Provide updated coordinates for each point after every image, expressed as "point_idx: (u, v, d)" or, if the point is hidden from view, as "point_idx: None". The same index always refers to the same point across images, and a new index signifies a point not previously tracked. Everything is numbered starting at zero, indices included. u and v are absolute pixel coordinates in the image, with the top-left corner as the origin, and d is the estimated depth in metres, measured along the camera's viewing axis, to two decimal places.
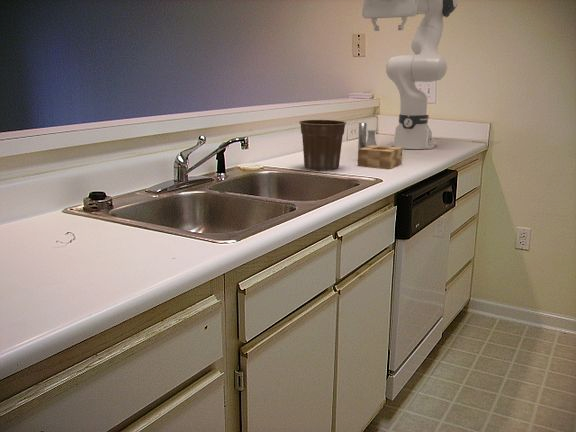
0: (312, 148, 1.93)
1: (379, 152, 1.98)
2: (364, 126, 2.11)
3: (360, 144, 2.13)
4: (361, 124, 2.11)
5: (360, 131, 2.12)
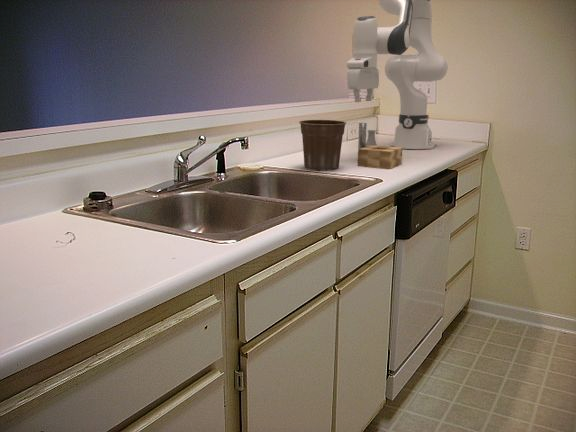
0: (312, 148, 1.93)
1: (379, 152, 1.98)
2: (364, 126, 2.11)
3: (360, 144, 2.13)
4: (361, 124, 2.11)
5: (360, 131, 2.12)
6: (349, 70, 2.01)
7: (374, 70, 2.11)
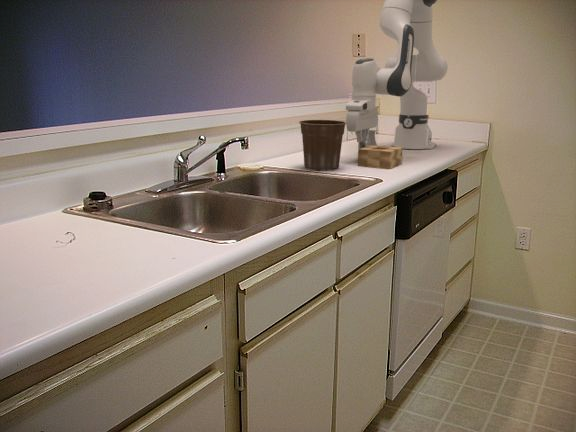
0: (312, 148, 1.93)
1: (379, 152, 1.98)
2: None
3: (360, 144, 2.13)
4: None
5: None
6: (348, 112, 2.05)
7: (373, 110, 2.14)
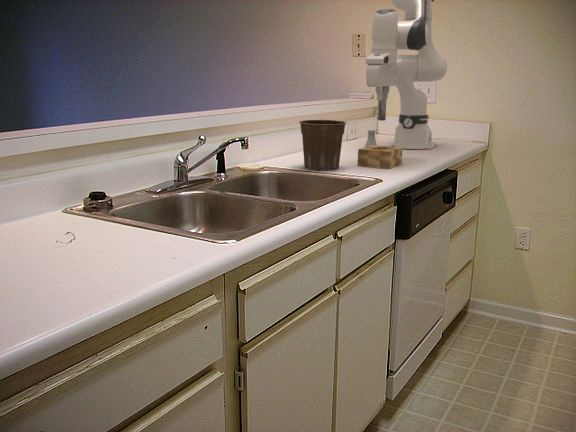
0: (312, 148, 1.93)
1: (379, 152, 1.98)
2: None
3: (380, 102, 1.99)
4: None
5: None
6: (368, 66, 1.90)
7: (394, 66, 2.00)
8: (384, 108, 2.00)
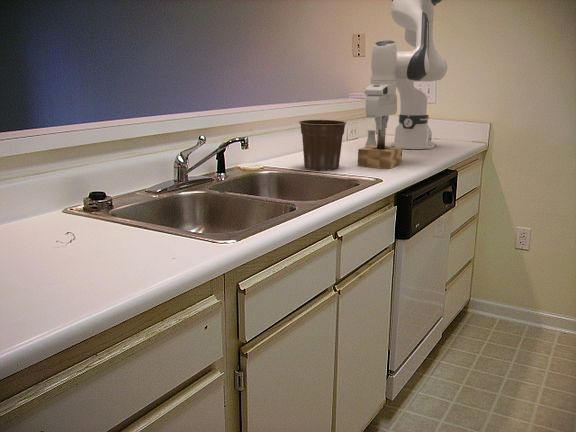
0: (312, 148, 1.93)
1: (379, 152, 1.98)
2: None
3: (379, 131, 2.01)
4: None
5: None
6: (368, 97, 1.93)
7: (393, 96, 2.03)
8: (383, 137, 2.02)
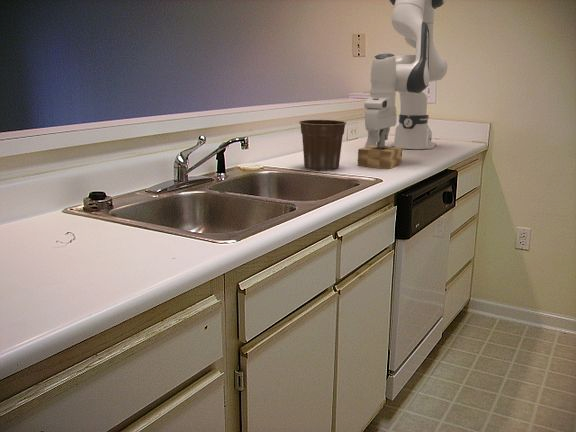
0: (312, 148, 1.93)
1: (379, 152, 1.98)
2: (383, 129, 2.01)
3: (379, 148, 2.03)
4: None
5: (379, 134, 2.02)
6: (367, 111, 1.94)
7: (392, 108, 2.04)
8: None
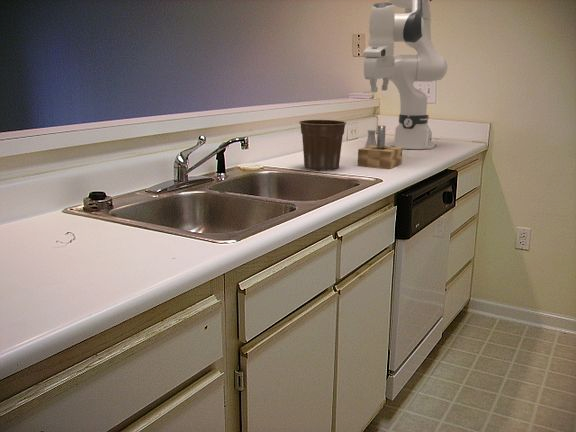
0: (312, 148, 1.93)
1: (379, 152, 1.98)
2: (383, 129, 2.01)
3: (379, 148, 2.03)
4: (380, 127, 2.01)
5: (379, 134, 2.02)
6: (366, 59, 1.95)
7: (390, 58, 2.05)
8: None
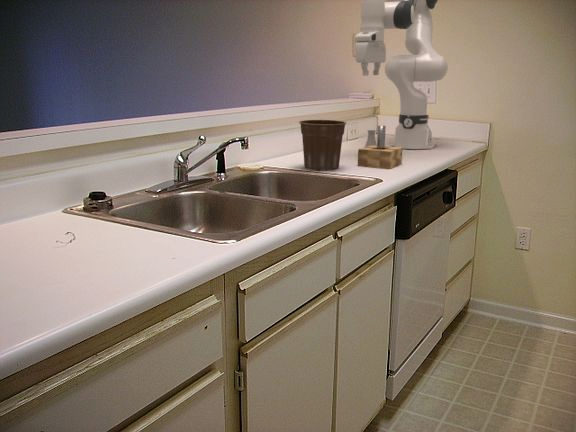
0: (312, 148, 1.93)
1: (379, 152, 1.98)
2: (383, 129, 2.01)
3: (379, 148, 2.03)
4: (380, 127, 2.01)
5: (379, 134, 2.02)
6: (357, 43, 2.05)
7: (381, 44, 2.15)
8: None
